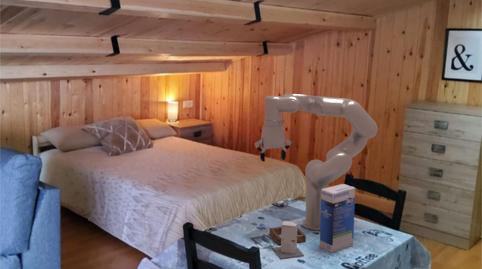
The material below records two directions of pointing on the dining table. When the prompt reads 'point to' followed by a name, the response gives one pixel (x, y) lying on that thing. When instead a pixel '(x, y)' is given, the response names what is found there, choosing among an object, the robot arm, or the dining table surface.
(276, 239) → the holder
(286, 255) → the mat
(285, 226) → the skincare box
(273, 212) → the dining table surface
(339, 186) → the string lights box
